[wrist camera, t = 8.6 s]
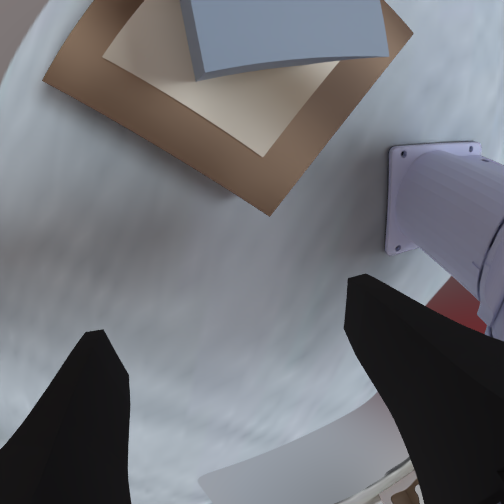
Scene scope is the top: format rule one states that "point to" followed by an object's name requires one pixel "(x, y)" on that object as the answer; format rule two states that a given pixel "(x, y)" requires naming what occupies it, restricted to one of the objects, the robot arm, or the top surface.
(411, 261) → the top surface
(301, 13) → the block
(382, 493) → the gable box
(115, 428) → the robot arm
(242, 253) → the top surface
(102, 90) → the walnut base
